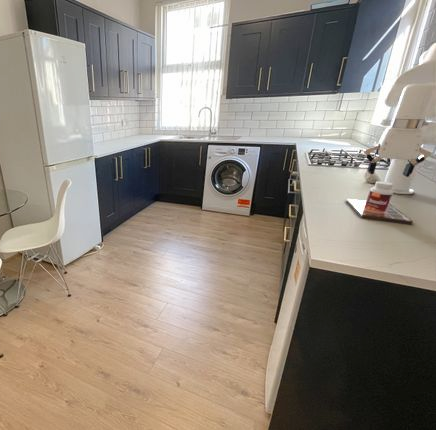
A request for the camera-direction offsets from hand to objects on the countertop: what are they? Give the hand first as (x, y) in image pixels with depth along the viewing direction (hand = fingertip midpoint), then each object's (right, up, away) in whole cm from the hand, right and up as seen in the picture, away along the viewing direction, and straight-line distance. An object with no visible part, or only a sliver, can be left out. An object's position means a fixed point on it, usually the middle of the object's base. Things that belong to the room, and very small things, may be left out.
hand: (387, 174), depth 100 cm
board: (+3, -13, +8) cm, 16 cm away
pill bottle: (0, -13, +5) cm, 14 cm away
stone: (+39, +2, +47) cm, 61 cm away
